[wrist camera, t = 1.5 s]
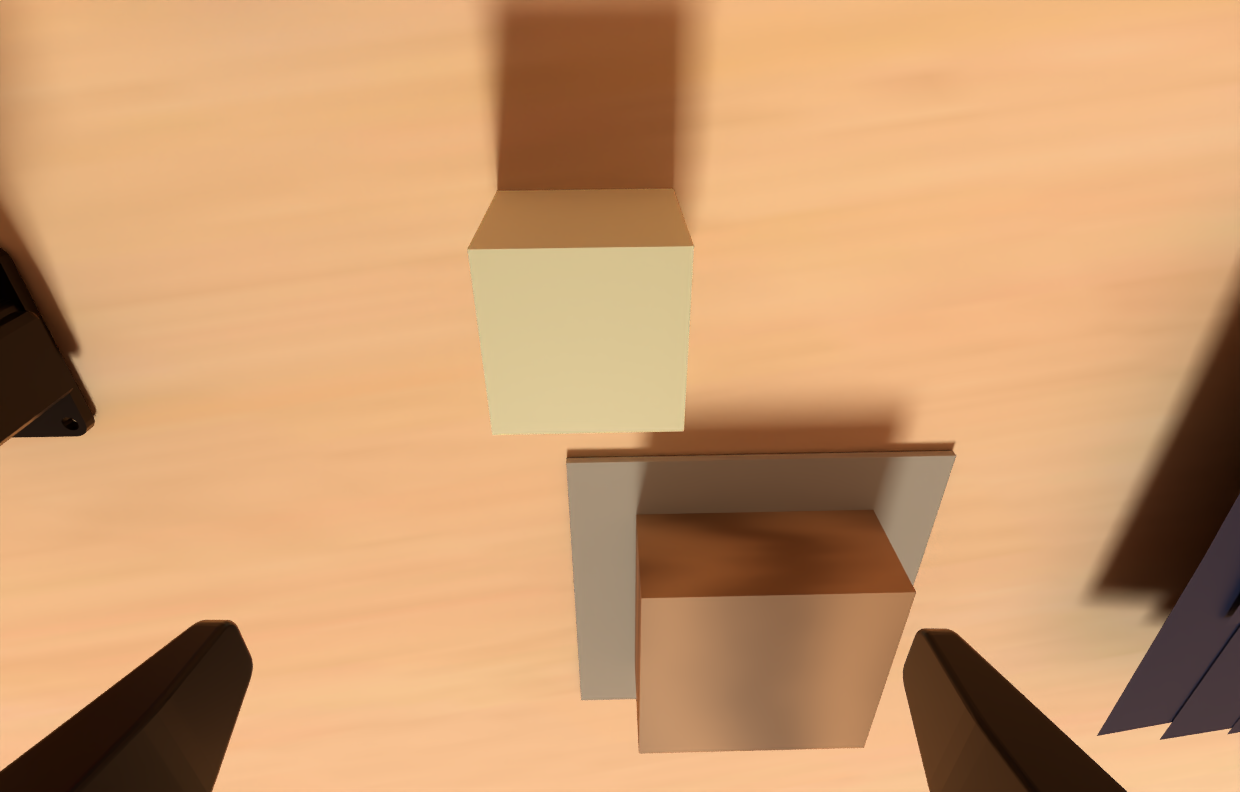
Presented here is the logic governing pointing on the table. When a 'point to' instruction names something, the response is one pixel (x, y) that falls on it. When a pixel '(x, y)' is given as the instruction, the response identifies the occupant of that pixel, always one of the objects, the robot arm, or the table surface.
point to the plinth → (764, 629)
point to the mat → (721, 484)
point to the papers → (1193, 652)
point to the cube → (583, 310)
